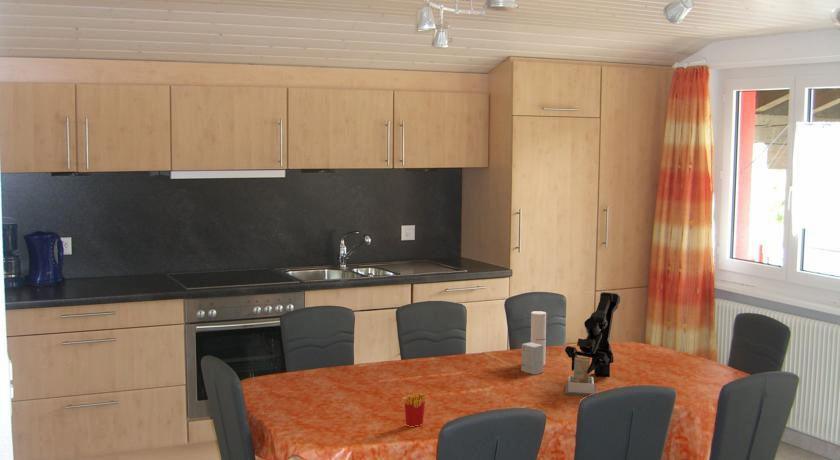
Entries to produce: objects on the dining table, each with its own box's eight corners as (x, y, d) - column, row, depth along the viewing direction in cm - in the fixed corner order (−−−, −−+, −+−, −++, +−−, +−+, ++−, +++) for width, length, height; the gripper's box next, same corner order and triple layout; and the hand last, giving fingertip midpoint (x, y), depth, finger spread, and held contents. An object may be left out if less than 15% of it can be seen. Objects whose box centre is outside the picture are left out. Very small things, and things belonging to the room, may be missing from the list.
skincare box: (573, 387, 351) (573, 359, 349) (573, 384, 355) (574, 356, 353) (588, 388, 349) (589, 360, 348) (589, 385, 353) (589, 357, 352)
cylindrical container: (544, 366, 390) (545, 314, 387) (529, 365, 391) (530, 313, 388) (545, 362, 396) (546, 311, 394) (530, 361, 398) (531, 310, 395)
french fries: (408, 428, 306) (409, 397, 305) (403, 425, 310) (403, 394, 308) (427, 424, 311) (427, 393, 310) (421, 421, 315) (421, 390, 313)
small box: (543, 372, 379) (543, 345, 378) (533, 375, 375) (534, 347, 374) (530, 368, 386) (530, 341, 384) (520, 371, 382) (521, 343, 380)
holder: (595, 387, 357) (596, 376, 357) (596, 396, 344) (597, 385, 344) (565, 385, 360) (565, 374, 359) (565, 394, 347) (565, 383, 346)
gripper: (567, 327, 358) (554, 358, 351) (606, 334, 346) (594, 365, 339) (575, 341, 365) (562, 371, 358) (614, 348, 353) (602, 379, 346)
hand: (579, 371), depth 350 cm, fingers closed on skincare box, 7 cm apart
